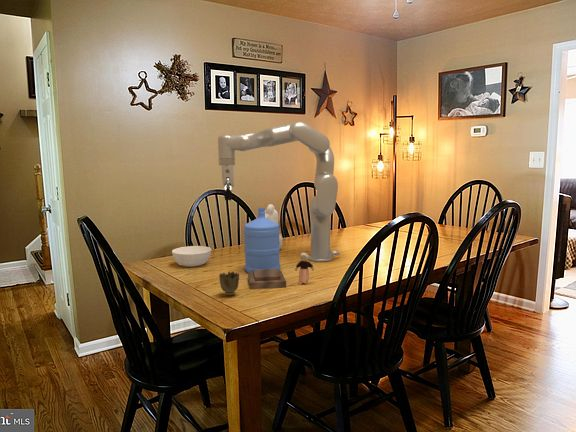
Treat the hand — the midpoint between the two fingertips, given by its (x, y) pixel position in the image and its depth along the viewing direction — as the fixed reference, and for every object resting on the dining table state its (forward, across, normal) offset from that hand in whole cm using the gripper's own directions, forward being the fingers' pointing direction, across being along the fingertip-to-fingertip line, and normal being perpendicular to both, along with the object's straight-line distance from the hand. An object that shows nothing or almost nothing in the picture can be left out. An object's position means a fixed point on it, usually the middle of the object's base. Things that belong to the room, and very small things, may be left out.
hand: (228, 199), depth 213 cm
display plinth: (+31, -35, -13) cm, 49 cm away
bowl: (+31, +1, +18) cm, 36 cm away
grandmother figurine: (+31, -40, -28) cm, 58 cm away
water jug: (+31, -16, -14) cm, 38 cm away
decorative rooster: (+31, +22, -20) cm, 43 cm away
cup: (+31, -49, +2) cm, 58 cm away
